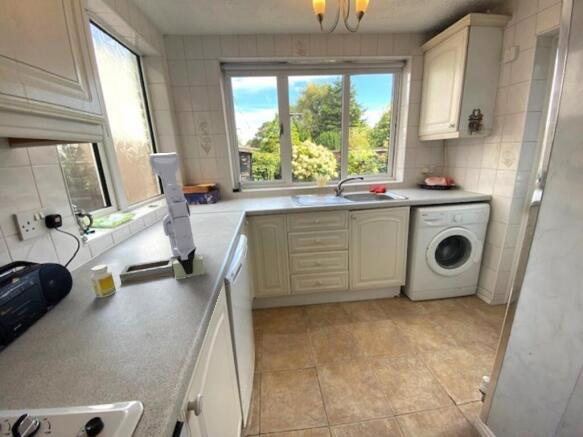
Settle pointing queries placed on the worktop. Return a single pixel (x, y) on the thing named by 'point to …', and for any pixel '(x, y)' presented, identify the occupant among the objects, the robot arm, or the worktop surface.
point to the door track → (147, 270)
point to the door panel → (197, 268)
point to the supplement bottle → (102, 281)
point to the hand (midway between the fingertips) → (190, 270)
